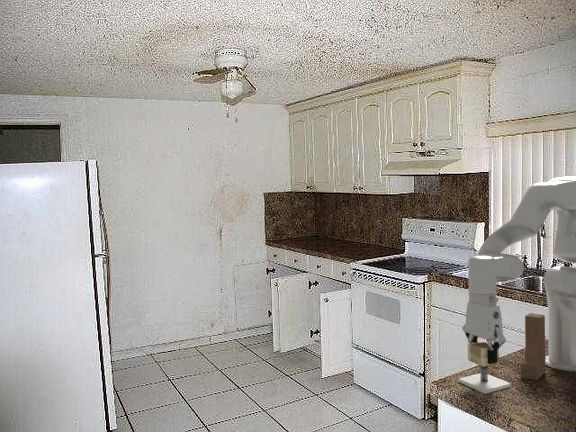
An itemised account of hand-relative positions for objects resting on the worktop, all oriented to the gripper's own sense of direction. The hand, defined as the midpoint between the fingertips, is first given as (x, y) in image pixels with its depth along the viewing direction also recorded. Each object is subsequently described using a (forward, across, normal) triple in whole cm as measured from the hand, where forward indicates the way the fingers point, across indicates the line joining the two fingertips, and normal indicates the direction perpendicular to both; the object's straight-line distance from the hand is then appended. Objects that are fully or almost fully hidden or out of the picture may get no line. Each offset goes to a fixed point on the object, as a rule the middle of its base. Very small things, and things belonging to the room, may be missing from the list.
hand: (483, 358), depth 141 cm
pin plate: (+8, 0, 0) cm, 8 cm away
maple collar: (+1, 0, 0) cm, 1 cm away
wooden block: (+8, -2, -18) cm, 20 cm away
